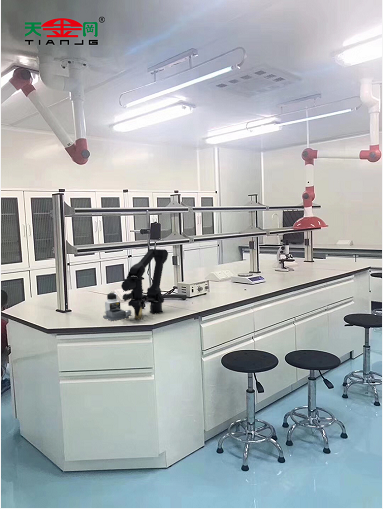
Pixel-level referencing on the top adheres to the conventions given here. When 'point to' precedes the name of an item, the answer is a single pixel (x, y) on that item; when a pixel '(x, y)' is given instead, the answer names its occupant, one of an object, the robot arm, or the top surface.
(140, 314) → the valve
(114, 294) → the medicine bottle
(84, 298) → the top surface
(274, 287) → the top surface
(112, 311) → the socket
